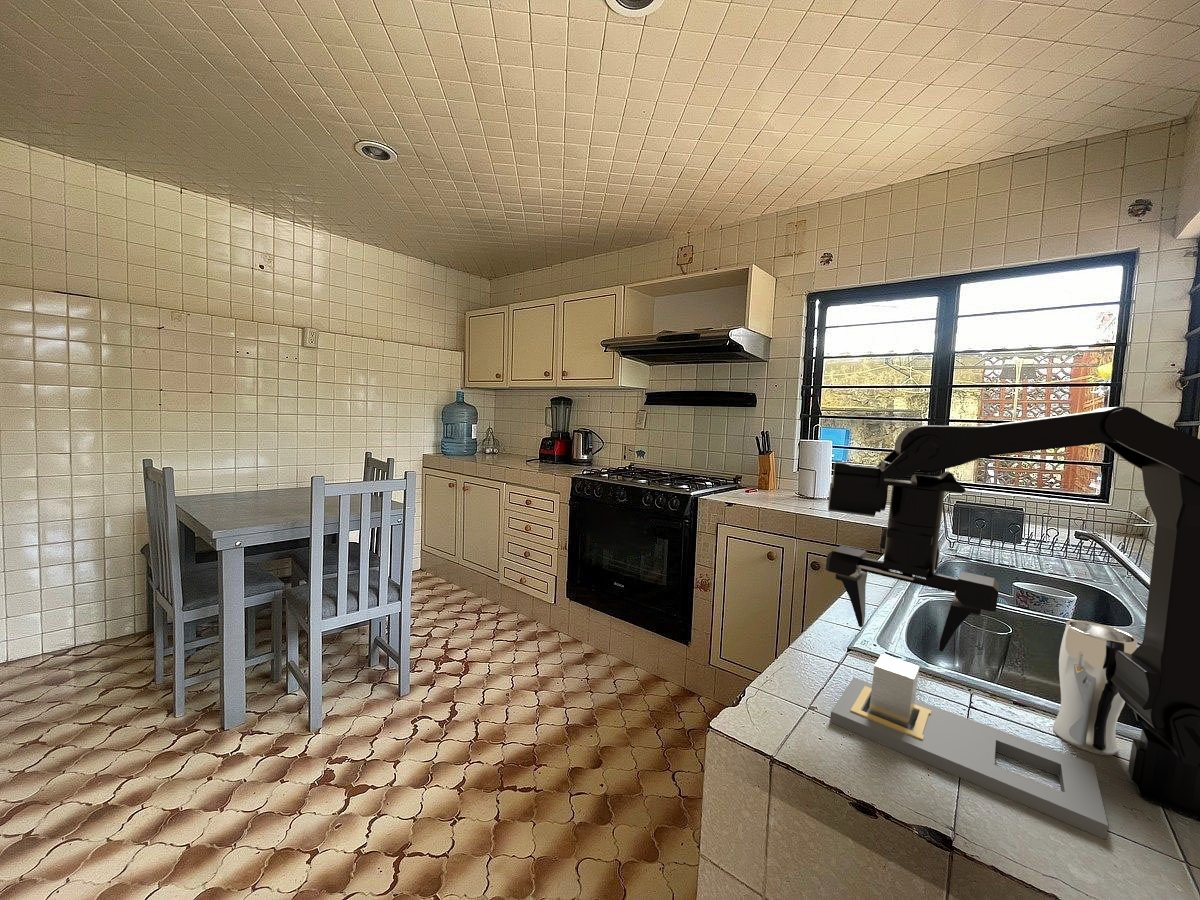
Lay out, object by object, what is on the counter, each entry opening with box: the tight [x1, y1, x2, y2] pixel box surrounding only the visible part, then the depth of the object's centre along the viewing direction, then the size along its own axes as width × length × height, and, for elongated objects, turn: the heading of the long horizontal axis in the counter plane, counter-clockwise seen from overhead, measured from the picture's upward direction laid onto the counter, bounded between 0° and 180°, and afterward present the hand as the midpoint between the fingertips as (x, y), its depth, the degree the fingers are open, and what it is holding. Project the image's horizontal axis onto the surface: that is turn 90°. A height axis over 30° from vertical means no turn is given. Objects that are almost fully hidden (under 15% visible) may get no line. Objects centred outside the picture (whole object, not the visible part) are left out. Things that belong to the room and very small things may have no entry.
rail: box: [829, 676, 1109, 840], centre depth 62 cm, size 26×12×2 cm, turn 50°
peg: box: [868, 654, 920, 730], centre depth 67 cm, size 4×4×8 cm
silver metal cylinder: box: [1052, 619, 1139, 756], centre depth 65 cm, size 7×7×15 cm
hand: (899, 637), depth 66 cm, fingers open, 9 cm apart
